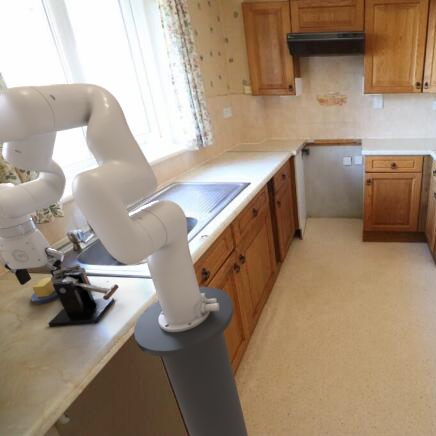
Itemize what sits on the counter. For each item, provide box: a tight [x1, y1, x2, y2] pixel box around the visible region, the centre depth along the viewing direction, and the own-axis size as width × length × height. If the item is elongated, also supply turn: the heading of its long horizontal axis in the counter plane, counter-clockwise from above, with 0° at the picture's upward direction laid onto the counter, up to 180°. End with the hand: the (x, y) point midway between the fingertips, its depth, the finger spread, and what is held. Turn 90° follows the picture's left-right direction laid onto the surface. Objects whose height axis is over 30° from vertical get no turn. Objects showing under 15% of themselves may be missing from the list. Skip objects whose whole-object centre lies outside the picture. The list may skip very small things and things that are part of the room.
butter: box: [32, 277, 55, 297], centre depth 96 cm, size 4×3×4 cm
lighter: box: [50, 263, 92, 285], centre depth 95 cm, size 8×3×10 cm, turn 129°
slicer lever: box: [62, 277, 119, 300], centre depth 86 cm, size 12×5×2 cm, turn 95°
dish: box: [30, 291, 59, 305], centre depth 97 cm, size 8×8×1 cm
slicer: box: [48, 272, 115, 328], centre depth 87 cm, size 12×9×12 cm
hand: (43, 280), depth 95 cm, fingers open, 9 cm apart
